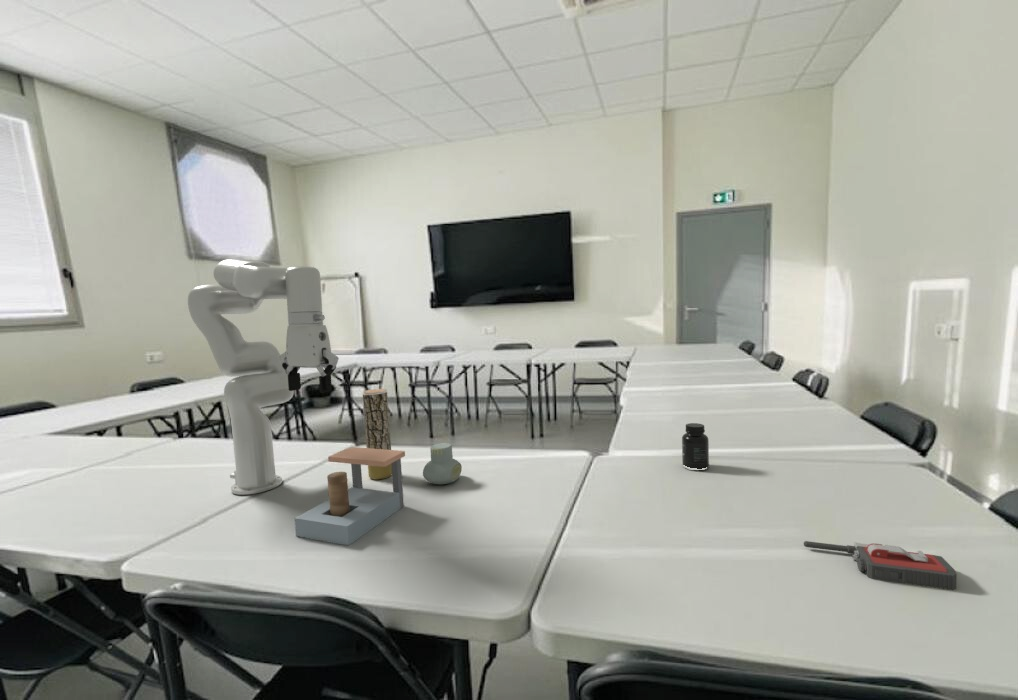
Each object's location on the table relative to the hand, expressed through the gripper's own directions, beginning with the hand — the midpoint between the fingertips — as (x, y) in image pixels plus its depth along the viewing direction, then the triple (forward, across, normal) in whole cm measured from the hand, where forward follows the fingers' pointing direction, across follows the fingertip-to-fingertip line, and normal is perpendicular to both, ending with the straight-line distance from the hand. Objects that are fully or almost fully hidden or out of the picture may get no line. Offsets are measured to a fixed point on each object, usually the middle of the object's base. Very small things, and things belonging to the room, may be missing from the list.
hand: (310, 390), depth 111 cm
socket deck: (+28, -14, +4) cm, 32 cm away
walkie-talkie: (+26, -115, -7) cm, 118 cm away
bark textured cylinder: (+29, -2, -22) cm, 37 cm away
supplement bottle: (+27, -87, -51) cm, 104 cm away
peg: (+28, -14, +8) cm, 33 cm away
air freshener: (+29, -22, -24) cm, 43 cm away
